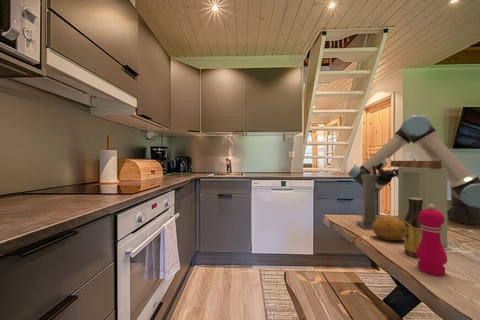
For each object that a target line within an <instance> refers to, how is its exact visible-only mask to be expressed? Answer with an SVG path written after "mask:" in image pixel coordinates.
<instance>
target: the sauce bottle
mask: <svg viewBox="0 0 480 320" xmlns="http://www.w3.org/2000/svg"><path fill="white" fill-rule="evenodd" d="M408 202H409V210H408V213H407V215H406V217H405V219H404V238H403V241H404V242H403V243H404V244H403V247H404V248H403V249H404V252H405V254H407V255H408V256H412V257H415V258H418V257H417V256H416V250H417V247H418V245H419V243H420V242H421V240H422V235H423V231H422V229H421V224H422V222H421V221H420V220H419V213H420V212H421V211H422V204H423V199H421V198H408Z"/></svg>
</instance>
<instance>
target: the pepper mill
mask: <svg viewBox="0 0 480 320" xmlns="http://www.w3.org/2000/svg"><path fill="white" fill-rule="evenodd" d="M427 207H428V209H424V210H422V211H421V212H420V213H419V220H420V221H421V222H422V224H421V229H422V231H423V235H422V240H421V242H420V243H419V245H418V247H417V250H416V256H417V257H416V258H418V259H419V260H418V262H417V268H418V269H419V270H420V271H421V272H423V273H425V274H428V275H429V274H430V275H432V276H445V274H446V267H445V265H446V264H447V263H448V256H447V252H446V250H445V248H444V246H442V244H441V240H440V233H441V232H442V227H441V225H442V224H443V223H444V222H445V219H444V215H443V214H442V213H441V212H439V211H437V210H434V209H435V206H434V205H433V204H429V205H428V206H427Z"/></svg>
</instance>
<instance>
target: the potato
mask: <svg viewBox="0 0 480 320" xmlns="http://www.w3.org/2000/svg"><path fill="white" fill-rule="evenodd" d="M372 229H373V230H372V232H373V233H374V234H375V236H377V237H379V238H381V239H383V240H386V241H397V240H398V241H399V240H402V239H404V222H403V221H401V220H398V218H393V217H378V218H377V219H376V218H375V221H374V222H373V224H372Z"/></svg>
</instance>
